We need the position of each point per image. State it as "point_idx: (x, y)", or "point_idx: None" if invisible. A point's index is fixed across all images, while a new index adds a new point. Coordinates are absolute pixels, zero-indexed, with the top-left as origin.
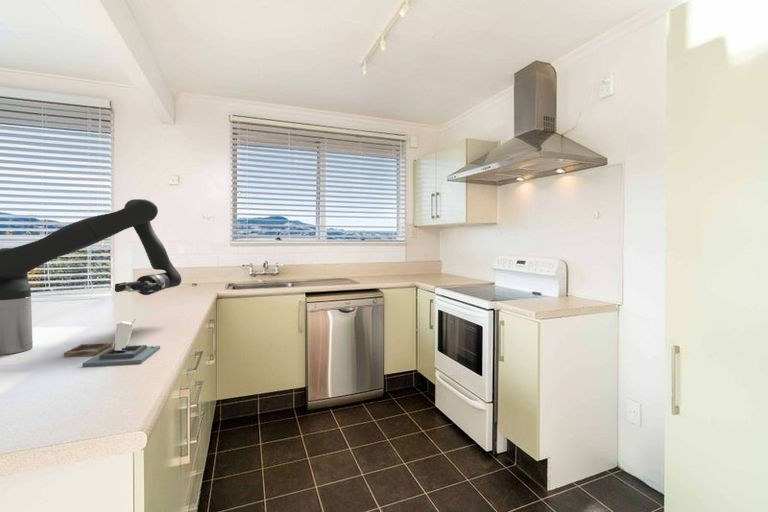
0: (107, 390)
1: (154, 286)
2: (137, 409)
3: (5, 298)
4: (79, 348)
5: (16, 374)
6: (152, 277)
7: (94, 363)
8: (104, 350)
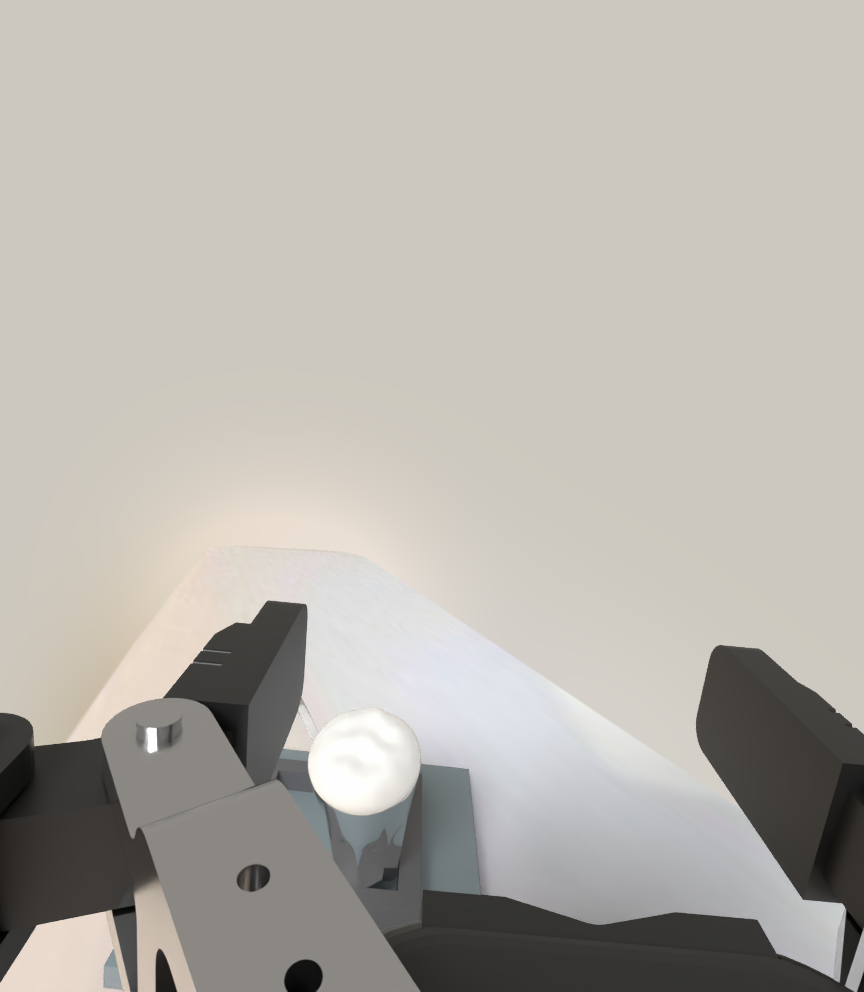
0: None
1: (79, 750)
2: (214, 571)
3: None
4: None
5: (659, 772)
6: None
7: (420, 767)
8: None
